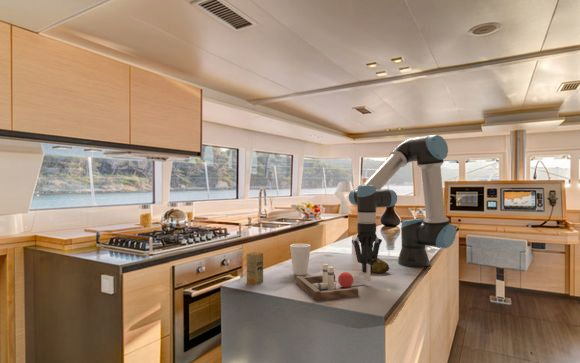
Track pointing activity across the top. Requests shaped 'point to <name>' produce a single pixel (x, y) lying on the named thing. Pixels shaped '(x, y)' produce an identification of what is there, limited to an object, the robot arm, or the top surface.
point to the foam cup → (300, 258)
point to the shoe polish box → (254, 268)
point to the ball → (345, 279)
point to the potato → (380, 266)
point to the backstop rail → (320, 295)
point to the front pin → (322, 285)
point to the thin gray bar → (357, 285)
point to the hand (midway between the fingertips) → (367, 280)
